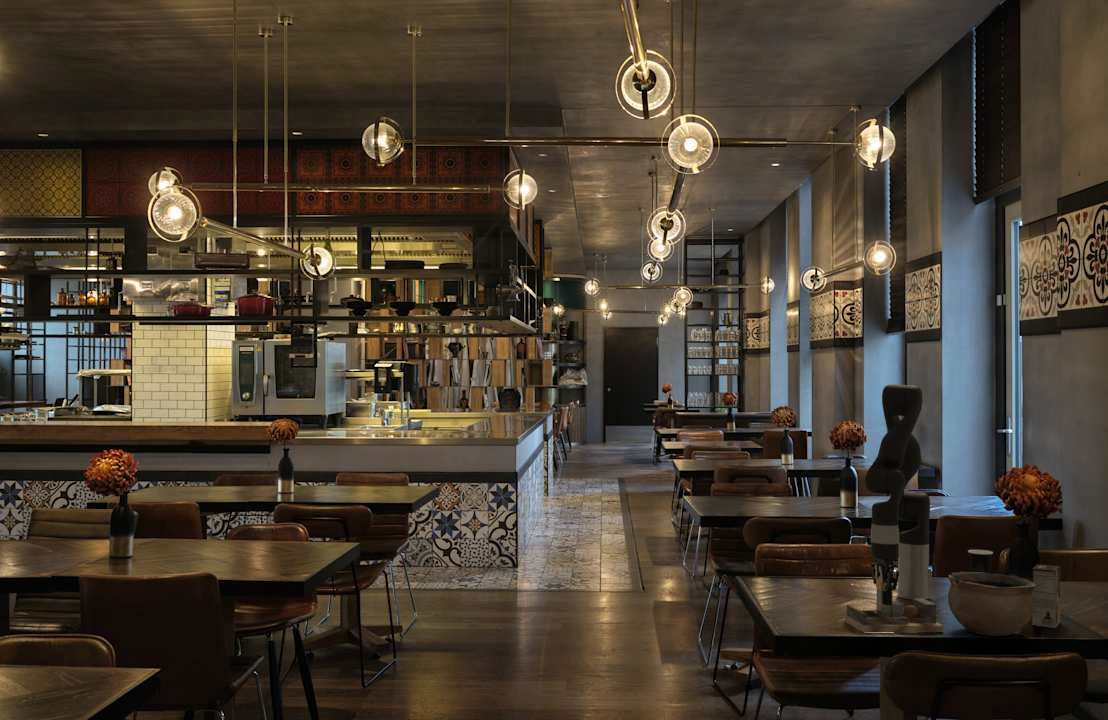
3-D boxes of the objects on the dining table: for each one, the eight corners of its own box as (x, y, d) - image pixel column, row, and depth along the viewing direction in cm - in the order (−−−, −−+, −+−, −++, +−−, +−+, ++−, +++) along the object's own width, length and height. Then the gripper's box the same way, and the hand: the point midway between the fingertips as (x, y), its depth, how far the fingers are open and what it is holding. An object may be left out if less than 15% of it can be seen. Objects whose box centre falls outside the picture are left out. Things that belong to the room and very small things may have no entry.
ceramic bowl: (938, 622, 292) (938, 569, 292) (1017, 625, 290) (1018, 571, 290) (961, 642, 270) (961, 584, 270) (1048, 645, 268) (1048, 587, 268)
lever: (893, 615, 289) (893, 575, 290) (905, 621, 282) (905, 580, 282) (873, 616, 289) (873, 575, 289) (883, 621, 282) (884, 580, 282)
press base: (919, 621, 294) (919, 596, 294) (943, 632, 280) (943, 606, 280) (845, 621, 291) (845, 596, 292) (864, 633, 277) (865, 607, 278)
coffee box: (1036, 619, 298) (1036, 563, 298) (1060, 622, 294) (1060, 565, 295) (1031, 625, 290) (1031, 568, 290) (1056, 628, 287) (1057, 570, 287)
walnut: (914, 618, 288) (914, 603, 288) (920, 621, 284) (920, 606, 284) (900, 618, 288) (900, 603, 288) (906, 621, 284) (906, 606, 284)
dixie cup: (974, 586, 347) (974, 553, 348) (963, 581, 355) (963, 549, 355) (997, 586, 348) (997, 553, 348) (985, 581, 356) (985, 549, 356)
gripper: (909, 544, 279) (908, 608, 279) (887, 537, 293) (886, 598, 293) (882, 544, 279) (882, 609, 278) (861, 537, 293) (861, 598, 292)
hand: (884, 603), depth 285 cm, fingers closed on lever, 3 cm apart
